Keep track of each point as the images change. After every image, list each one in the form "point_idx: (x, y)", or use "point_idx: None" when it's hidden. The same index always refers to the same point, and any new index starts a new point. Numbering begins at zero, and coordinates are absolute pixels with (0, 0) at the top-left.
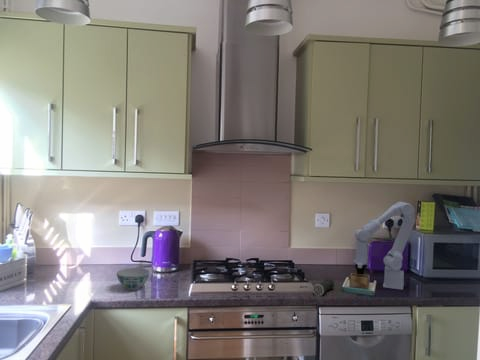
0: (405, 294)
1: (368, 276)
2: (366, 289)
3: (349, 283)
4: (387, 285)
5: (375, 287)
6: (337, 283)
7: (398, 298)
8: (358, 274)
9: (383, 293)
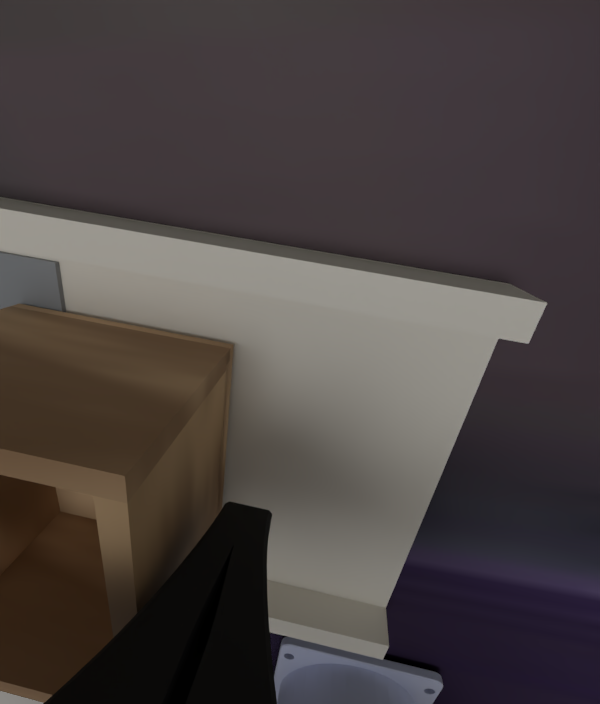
0: None
1: (40, 695)
2: None
3: (246, 320)
4: (294, 682)
5: None
6: (245, 79)
7: None
8: (115, 591)
9: None
